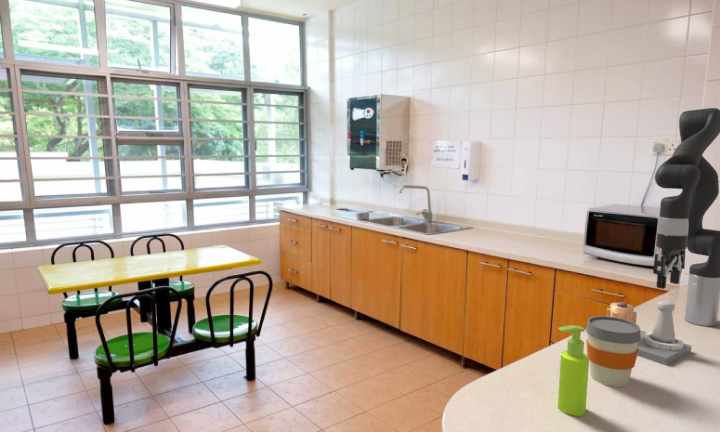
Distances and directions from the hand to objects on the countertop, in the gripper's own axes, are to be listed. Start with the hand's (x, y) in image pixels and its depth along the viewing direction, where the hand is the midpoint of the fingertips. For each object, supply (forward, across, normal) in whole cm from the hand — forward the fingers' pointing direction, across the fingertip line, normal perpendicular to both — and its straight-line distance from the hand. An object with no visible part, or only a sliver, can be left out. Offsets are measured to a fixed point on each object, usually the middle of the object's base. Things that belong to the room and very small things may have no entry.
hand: (667, 285), depth 136 cm
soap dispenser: (+20, +55, +4) cm, 58 cm away
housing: (+20, +3, -5) cm, 21 cm away
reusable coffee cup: (+20, +32, +1) cm, 38 cm away
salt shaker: (+18, 0, 0) cm, 18 cm away
